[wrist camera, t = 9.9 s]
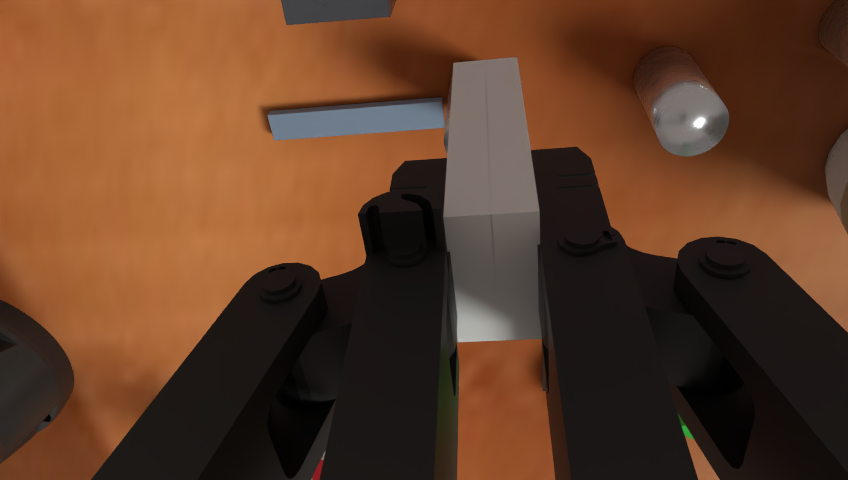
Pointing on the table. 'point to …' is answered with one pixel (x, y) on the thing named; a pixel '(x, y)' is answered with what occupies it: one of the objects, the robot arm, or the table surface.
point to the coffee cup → (838, 177)
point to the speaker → (334, 10)
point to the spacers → (698, 91)
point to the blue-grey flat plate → (357, 118)
